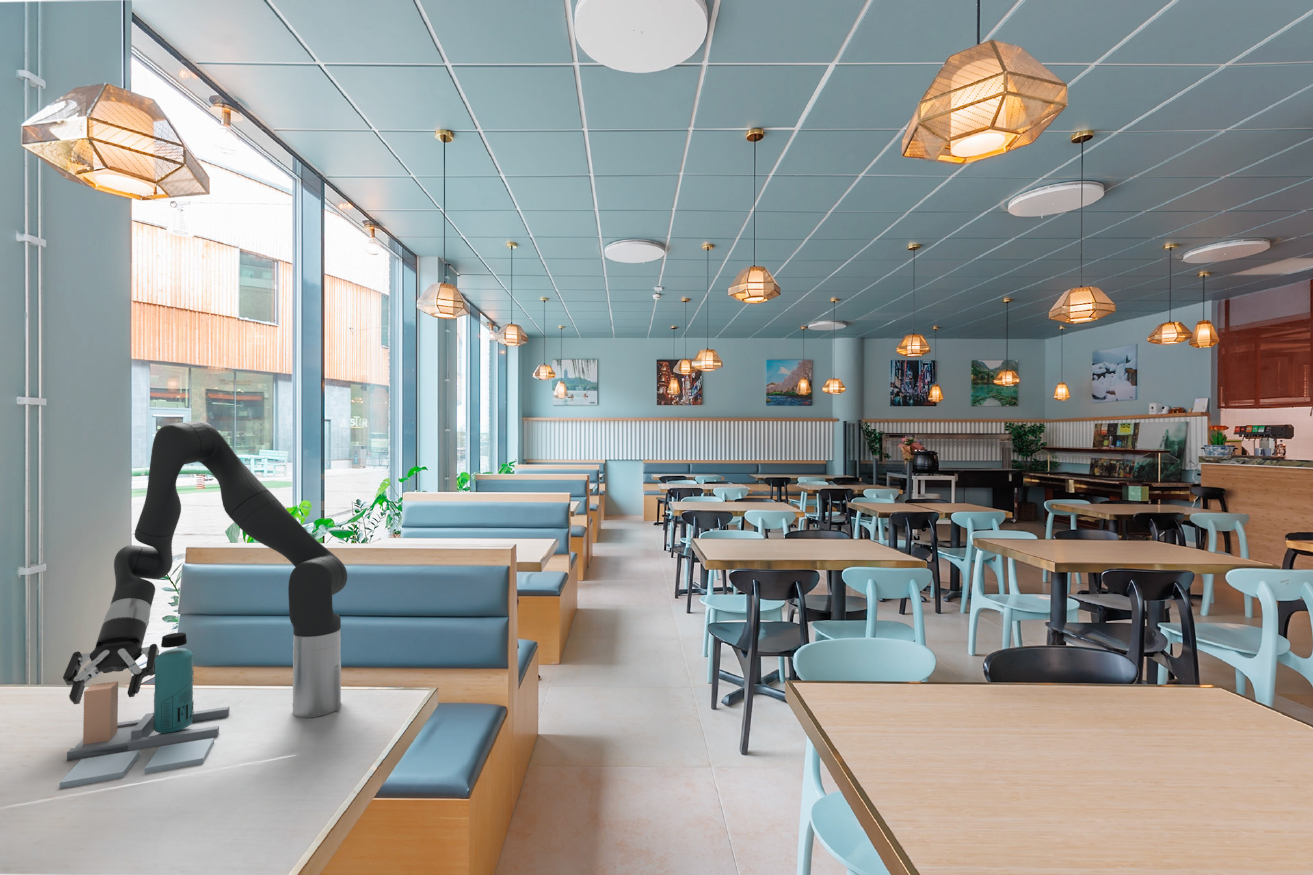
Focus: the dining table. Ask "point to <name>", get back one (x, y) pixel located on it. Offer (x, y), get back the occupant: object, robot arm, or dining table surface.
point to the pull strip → (128, 726)
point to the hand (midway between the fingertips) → (103, 698)
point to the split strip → (122, 762)
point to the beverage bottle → (173, 686)
